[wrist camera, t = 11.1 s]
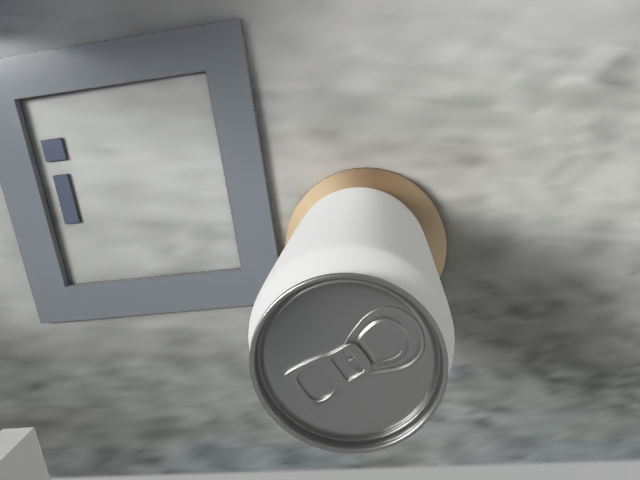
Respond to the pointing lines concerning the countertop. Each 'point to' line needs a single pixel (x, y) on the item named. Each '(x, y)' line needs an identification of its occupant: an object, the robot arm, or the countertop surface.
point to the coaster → (388, 184)
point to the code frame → (29, 199)
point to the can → (352, 326)
